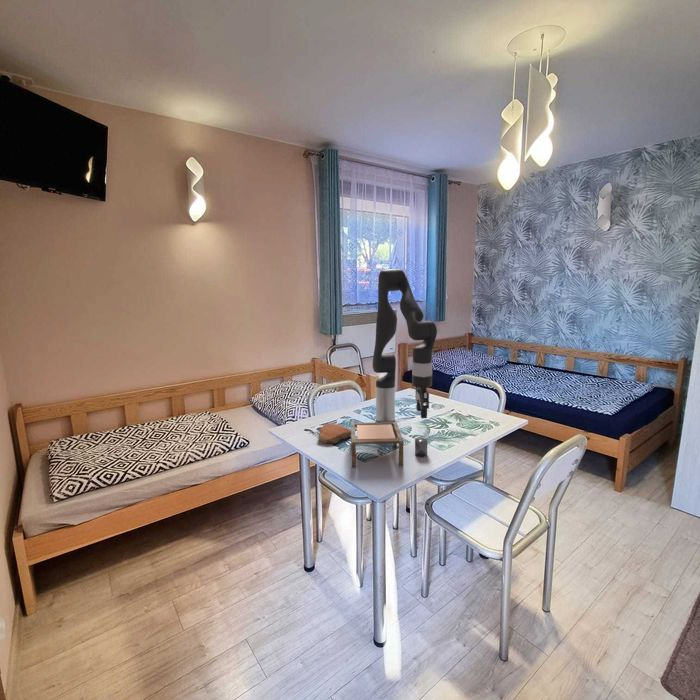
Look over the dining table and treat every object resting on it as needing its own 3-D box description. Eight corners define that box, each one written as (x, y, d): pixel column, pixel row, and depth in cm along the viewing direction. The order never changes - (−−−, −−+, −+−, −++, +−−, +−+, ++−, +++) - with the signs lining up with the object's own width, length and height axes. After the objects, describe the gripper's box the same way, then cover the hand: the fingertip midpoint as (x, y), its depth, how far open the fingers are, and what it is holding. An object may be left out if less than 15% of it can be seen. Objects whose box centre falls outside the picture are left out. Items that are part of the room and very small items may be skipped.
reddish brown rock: (306, 427, 169) (330, 422, 180) (307, 441, 169) (330, 435, 180) (330, 430, 159) (354, 425, 170) (331, 446, 159) (354, 439, 170)
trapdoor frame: (351, 445, 161) (350, 423, 159) (396, 444, 161) (396, 422, 159) (352, 467, 142) (351, 442, 140) (403, 466, 142) (403, 440, 141)
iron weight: (413, 451, 154) (414, 437, 153) (425, 451, 154) (426, 437, 153) (416, 457, 149) (416, 442, 148) (428, 457, 149) (428, 442, 148)
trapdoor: (356, 427, 157) (356, 424, 157) (391, 426, 157) (391, 423, 157) (358, 441, 143) (358, 439, 143) (395, 440, 143) (395, 438, 143)
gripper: (409, 369, 153) (409, 408, 156) (415, 378, 139) (415, 421, 142) (428, 369, 153) (427, 408, 156) (436, 377, 139) (435, 420, 142)
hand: (421, 414), depth 149 cm, fingers open, 8 cm apart
